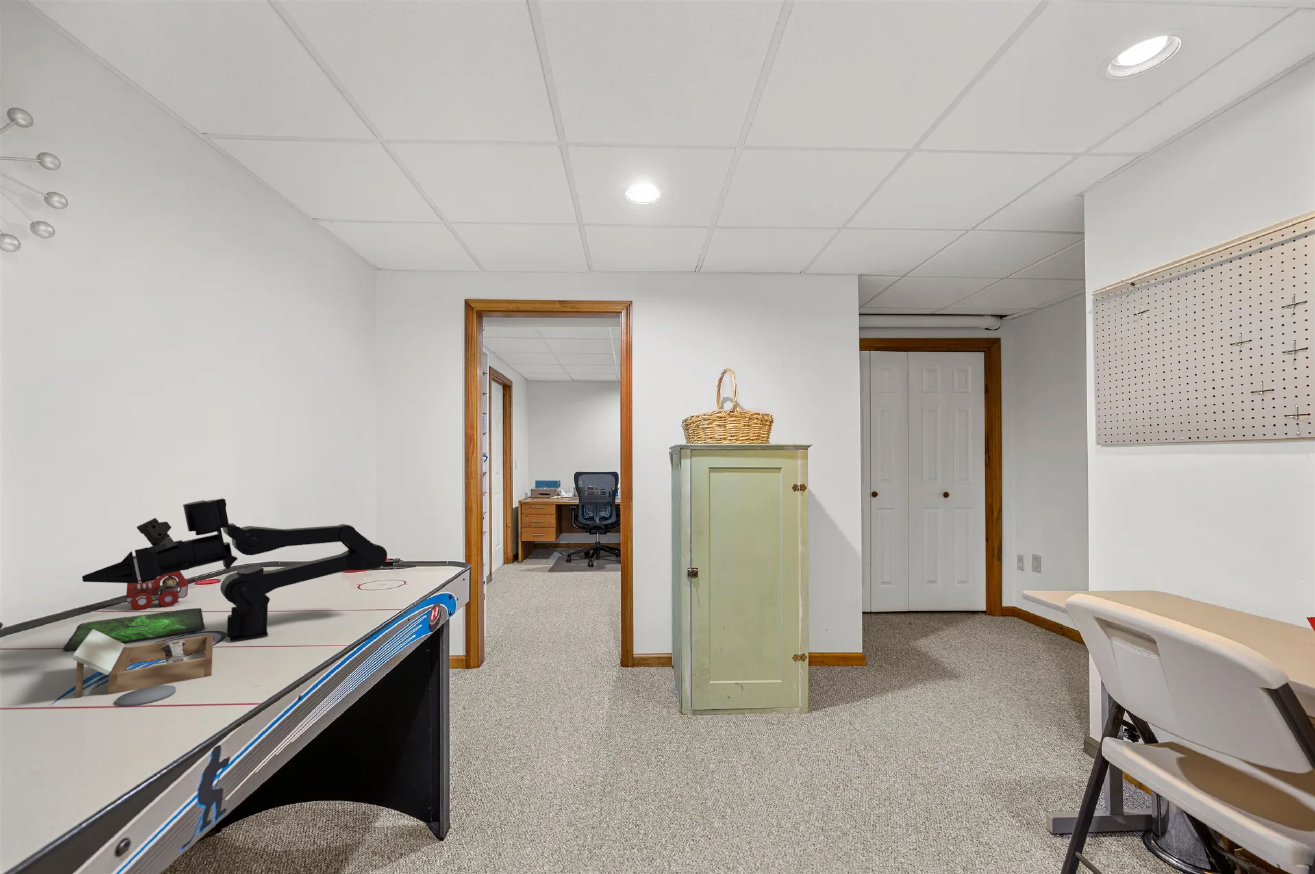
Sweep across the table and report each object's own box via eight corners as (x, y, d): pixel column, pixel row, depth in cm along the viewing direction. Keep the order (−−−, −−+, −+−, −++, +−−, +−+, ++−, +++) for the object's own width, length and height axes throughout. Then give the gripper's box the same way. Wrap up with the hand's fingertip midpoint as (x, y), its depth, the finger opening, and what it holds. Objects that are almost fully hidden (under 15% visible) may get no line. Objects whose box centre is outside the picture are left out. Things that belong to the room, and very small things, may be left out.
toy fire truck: (187, 604, 146) (189, 564, 147) (121, 612, 138) (124, 570, 139) (187, 599, 152) (188, 561, 152) (124, 607, 144) (126, 566, 144)
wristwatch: (181, 662, 104) (182, 635, 104) (189, 670, 100) (190, 641, 100) (156, 667, 101) (158, 639, 102) (164, 675, 98) (165, 646, 98)
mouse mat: (78, 624, 129) (78, 620, 129) (200, 608, 144) (201, 604, 144) (61, 655, 109) (61, 650, 109) (206, 633, 123) (206, 628, 123)
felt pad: (177, 684, 94) (177, 681, 94) (174, 698, 88) (174, 695, 88) (119, 694, 89) (119, 692, 89) (112, 710, 84) (112, 707, 84)
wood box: (212, 649, 111) (214, 613, 111) (211, 675, 98) (213, 634, 98) (88, 669, 100) (90, 629, 101) (67, 701, 87) (70, 655, 87)
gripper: (181, 517, 121) (78, 536, 110) (187, 512, 107) (70, 534, 96) (192, 567, 120) (90, 592, 110) (199, 569, 107) (84, 597, 96)
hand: (84, 578), depth 103 cm, fingers open, 9 cm apart
